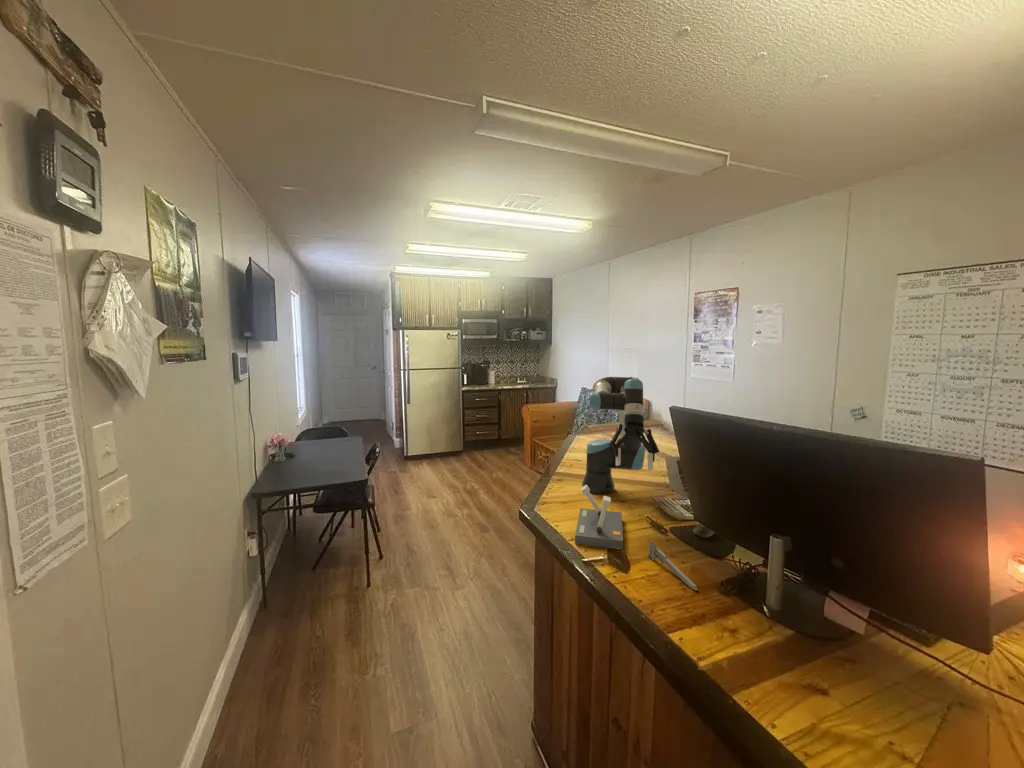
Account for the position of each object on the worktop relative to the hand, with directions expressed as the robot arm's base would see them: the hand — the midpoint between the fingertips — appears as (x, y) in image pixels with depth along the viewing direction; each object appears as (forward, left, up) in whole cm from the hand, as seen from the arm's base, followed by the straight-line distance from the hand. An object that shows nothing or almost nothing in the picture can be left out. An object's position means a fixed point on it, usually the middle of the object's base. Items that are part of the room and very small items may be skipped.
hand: (634, 467), depth 159 cm
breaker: (+7, -12, -17) cm, 22 cm away
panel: (+14, -12, -21) cm, 28 cm away
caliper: (+37, +10, -21) cm, 44 cm away
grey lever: (+21, -12, -17) cm, 29 cm away
